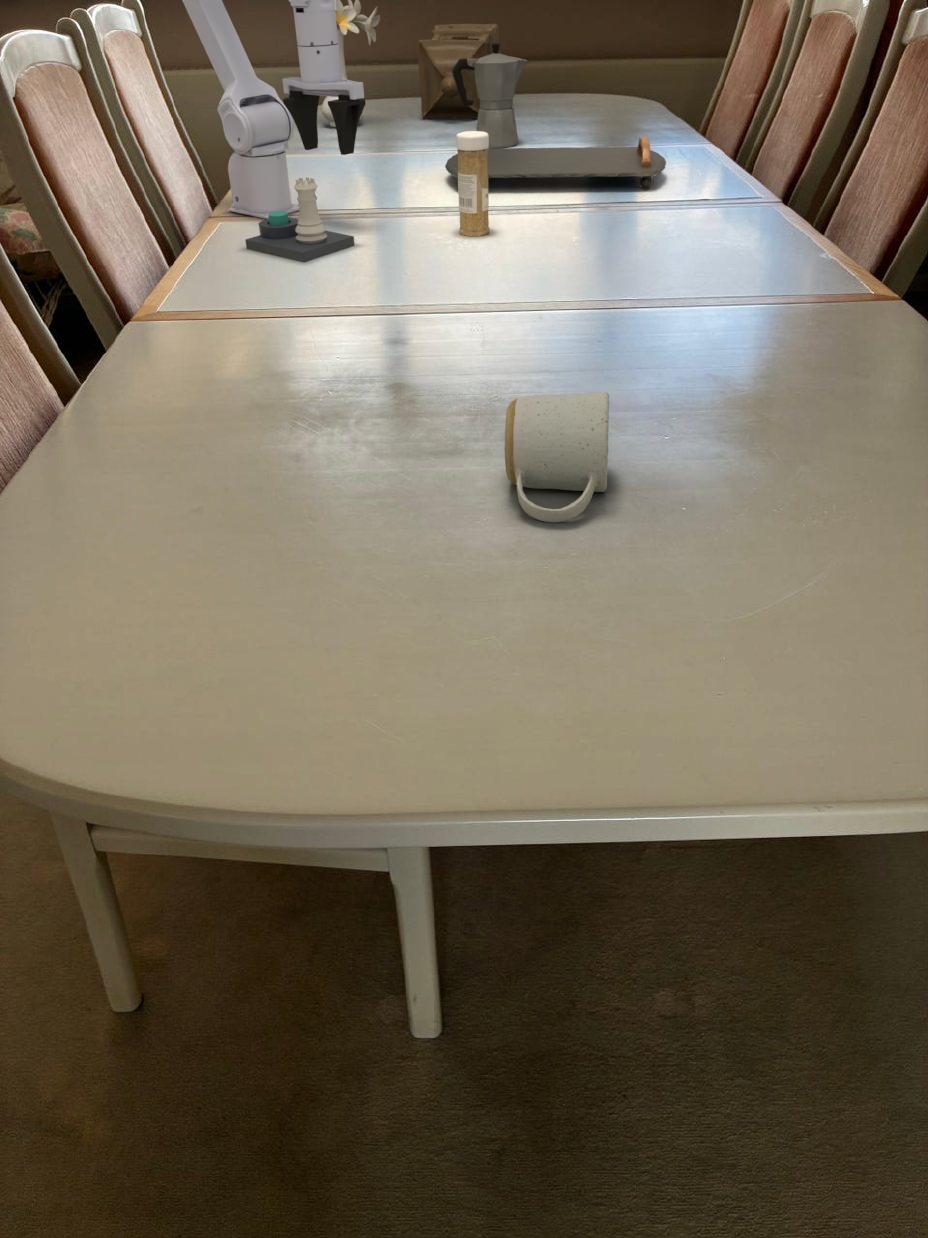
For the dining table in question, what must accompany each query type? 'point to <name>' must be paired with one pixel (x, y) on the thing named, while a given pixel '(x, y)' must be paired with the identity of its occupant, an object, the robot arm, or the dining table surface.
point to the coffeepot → (493, 94)
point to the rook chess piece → (308, 213)
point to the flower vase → (344, 24)
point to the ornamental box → (439, 63)
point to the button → (278, 218)
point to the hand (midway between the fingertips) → (329, 151)
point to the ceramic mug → (558, 448)
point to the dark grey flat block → (295, 242)
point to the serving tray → (572, 162)
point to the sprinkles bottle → (473, 182)
